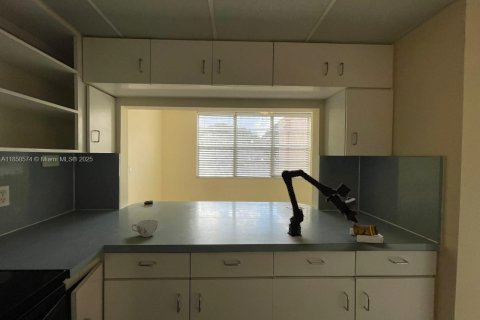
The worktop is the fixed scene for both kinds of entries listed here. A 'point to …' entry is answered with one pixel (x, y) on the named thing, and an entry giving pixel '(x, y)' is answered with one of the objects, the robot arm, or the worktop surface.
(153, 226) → the teacup
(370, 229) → the condiment
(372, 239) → the corral
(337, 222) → the worktop surface
